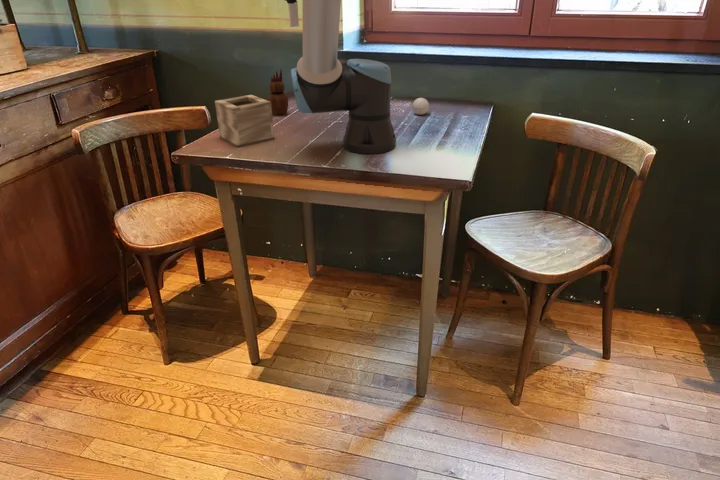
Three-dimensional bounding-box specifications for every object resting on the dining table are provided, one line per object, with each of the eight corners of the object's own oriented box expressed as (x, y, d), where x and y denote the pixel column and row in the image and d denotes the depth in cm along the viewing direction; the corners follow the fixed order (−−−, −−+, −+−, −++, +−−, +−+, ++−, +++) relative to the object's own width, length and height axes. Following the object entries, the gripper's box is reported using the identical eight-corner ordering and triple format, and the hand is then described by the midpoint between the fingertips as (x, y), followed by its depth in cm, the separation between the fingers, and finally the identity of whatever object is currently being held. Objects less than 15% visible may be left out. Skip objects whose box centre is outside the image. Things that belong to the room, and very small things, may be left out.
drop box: (274, 138, 153) (270, 102, 148) (237, 147, 147) (232, 109, 142) (255, 129, 162) (251, 94, 156) (220, 137, 155) (214, 100, 150)
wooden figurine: (291, 112, 179) (287, 68, 172) (286, 117, 174) (282, 71, 167) (272, 111, 180) (268, 67, 173) (267, 116, 175) (262, 70, 168)
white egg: (415, 111, 178) (415, 95, 176) (430, 113, 176) (431, 96, 173) (407, 117, 172) (407, 100, 170) (423, 119, 170) (423, 102, 167)
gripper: (338, -54, 137) (341, 31, 147) (290, -52, 154) (295, 24, 164) (315, -54, 133) (319, 33, 143) (268, -52, 150) (274, 25, 160)
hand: (306, 28), depth 154 cm, fingers open, 13 cm apart
